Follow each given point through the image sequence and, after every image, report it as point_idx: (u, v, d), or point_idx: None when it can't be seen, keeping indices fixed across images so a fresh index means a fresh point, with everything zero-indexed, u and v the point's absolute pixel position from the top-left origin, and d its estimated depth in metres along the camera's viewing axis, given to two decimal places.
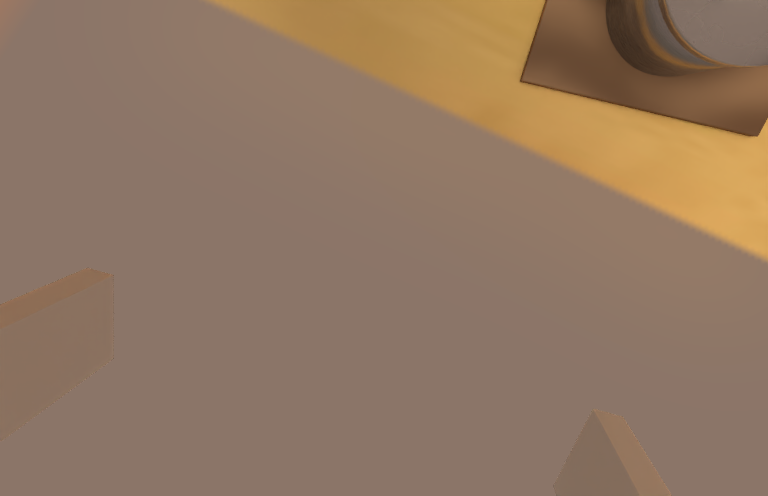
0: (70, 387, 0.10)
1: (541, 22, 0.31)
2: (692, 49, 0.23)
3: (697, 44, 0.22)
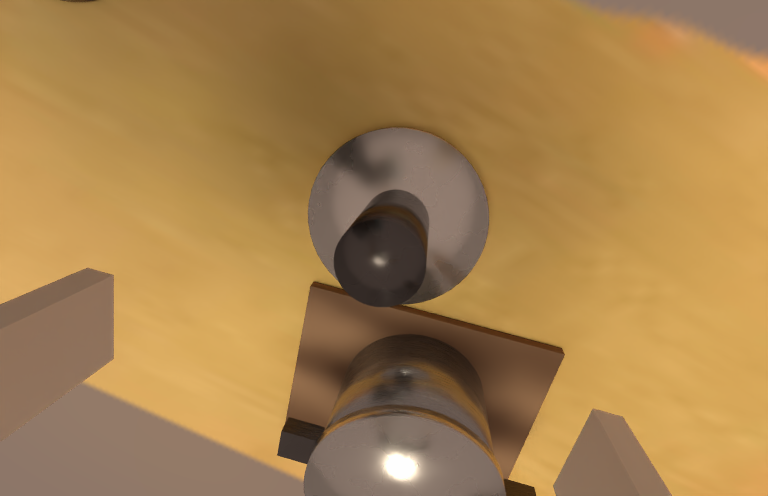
0: (70, 386, 0.10)
1: (290, 400, 0.33)
2: None
3: None
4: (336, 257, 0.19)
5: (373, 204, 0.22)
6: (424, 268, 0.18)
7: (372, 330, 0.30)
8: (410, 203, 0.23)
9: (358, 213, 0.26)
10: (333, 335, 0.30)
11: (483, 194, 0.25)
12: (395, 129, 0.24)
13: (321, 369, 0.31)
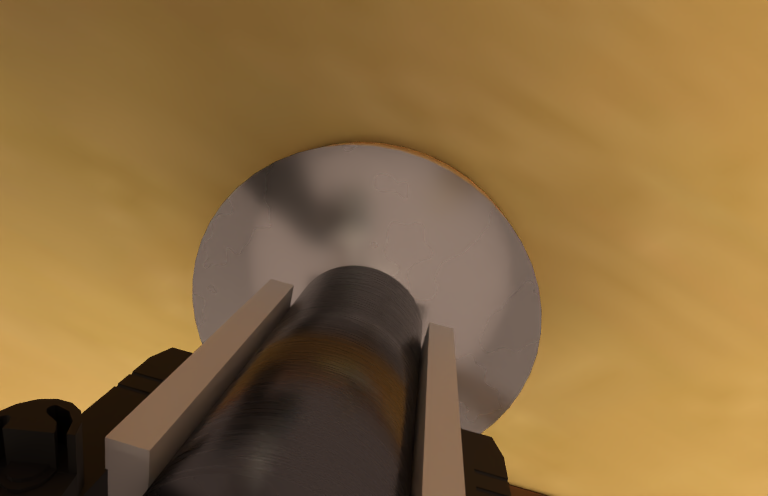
0: None
1: None
2: None
3: None
4: None
5: (287, 329, 0.09)
6: None
7: None
8: (377, 317, 0.10)
9: None
10: None
11: (532, 280, 0.12)
12: (351, 148, 0.12)
13: None
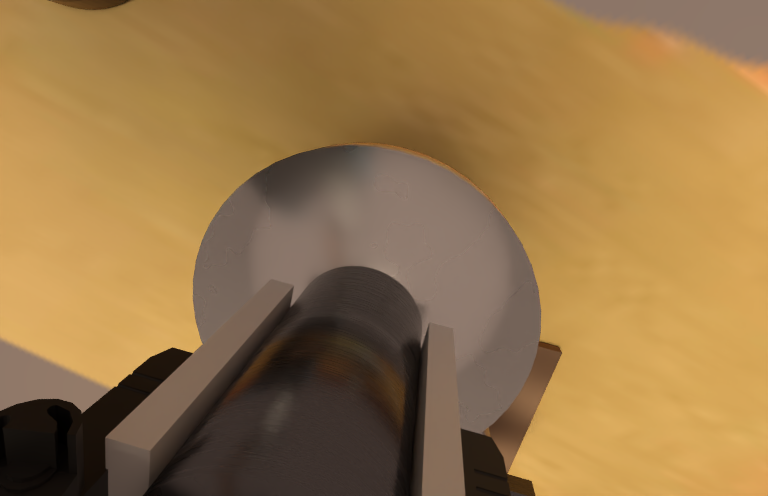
0: None
1: None
2: None
3: None
4: None
5: (287, 329, 0.09)
6: None
7: None
8: (377, 318, 0.10)
9: None
10: None
11: (531, 280, 0.12)
12: (351, 148, 0.12)
13: None
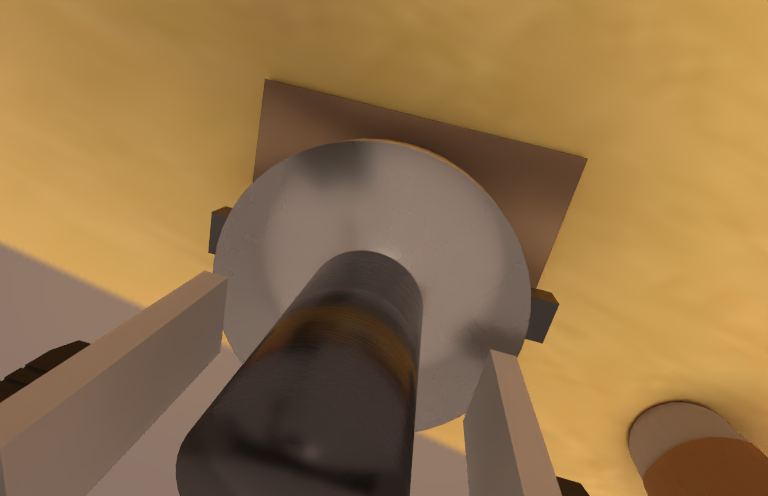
0: (193, 376, 0.11)
1: None
2: None
3: None
4: (182, 474, 0.07)
5: (305, 301, 0.11)
6: None
7: (343, 140, 0.23)
8: (384, 292, 0.11)
9: (299, 289, 0.15)
10: (296, 150, 0.24)
11: (522, 262, 0.13)
12: (359, 143, 0.13)
13: None
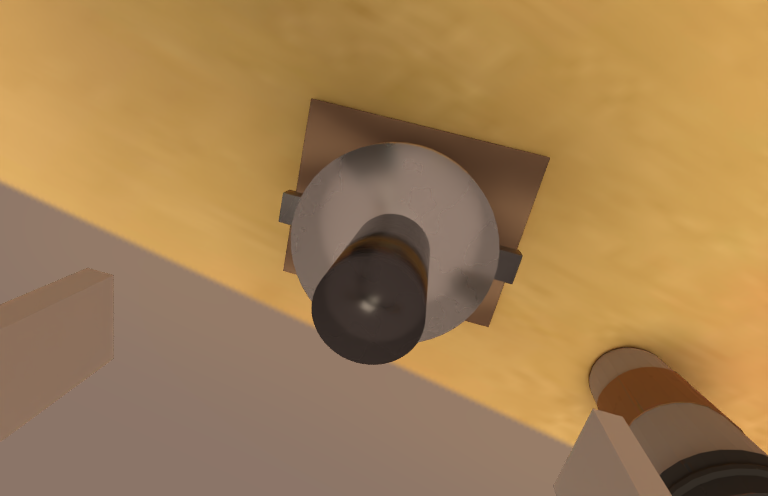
0: (70, 387, 0.10)
1: (291, 226, 0.34)
2: None
3: None
4: (315, 303, 0.15)
5: (363, 234, 0.18)
6: (423, 319, 0.15)
7: (369, 143, 0.31)
8: (407, 232, 0.19)
9: (348, 240, 0.23)
10: (332, 151, 0.32)
11: (493, 220, 0.21)
12: (391, 144, 0.21)
13: None
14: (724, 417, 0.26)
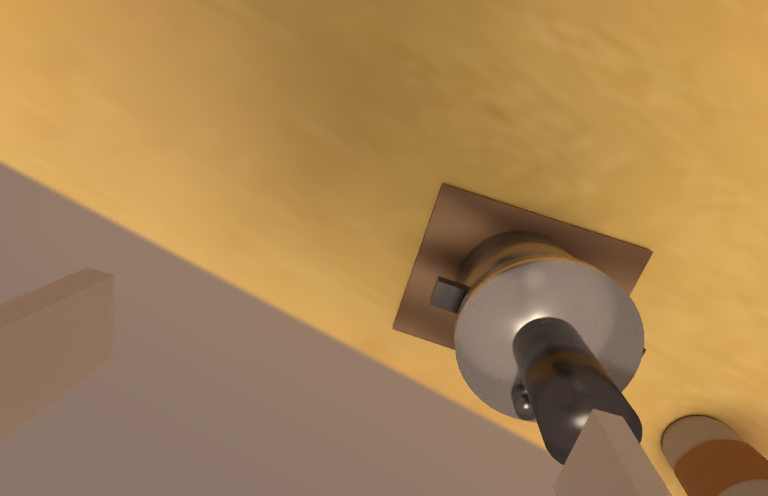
0: (70, 386, 0.10)
1: (406, 291, 0.38)
2: None
3: None
4: (548, 422, 0.19)
5: (555, 349, 0.22)
6: None
7: (490, 227, 0.35)
8: (585, 346, 0.23)
9: (509, 335, 0.26)
10: (455, 230, 0.36)
11: (641, 330, 0.25)
12: (562, 263, 0.25)
13: (439, 262, 0.37)
14: None
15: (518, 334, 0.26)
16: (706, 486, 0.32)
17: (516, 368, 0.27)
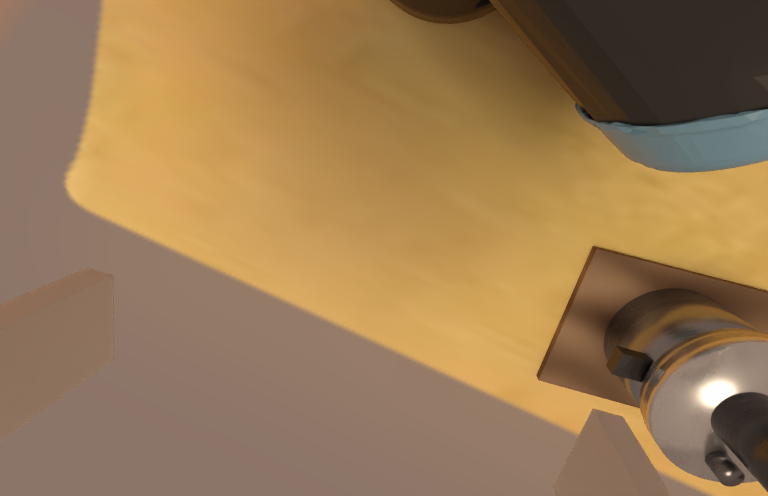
0: (70, 387, 0.10)
1: (554, 346, 0.40)
2: None
3: None
4: None
5: None
6: None
7: (642, 285, 0.37)
8: None
9: (708, 408, 0.28)
10: (607, 290, 0.37)
11: None
12: None
13: (588, 319, 0.38)
14: None
15: (720, 408, 0.28)
16: None
17: (713, 436, 0.29)
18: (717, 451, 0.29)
